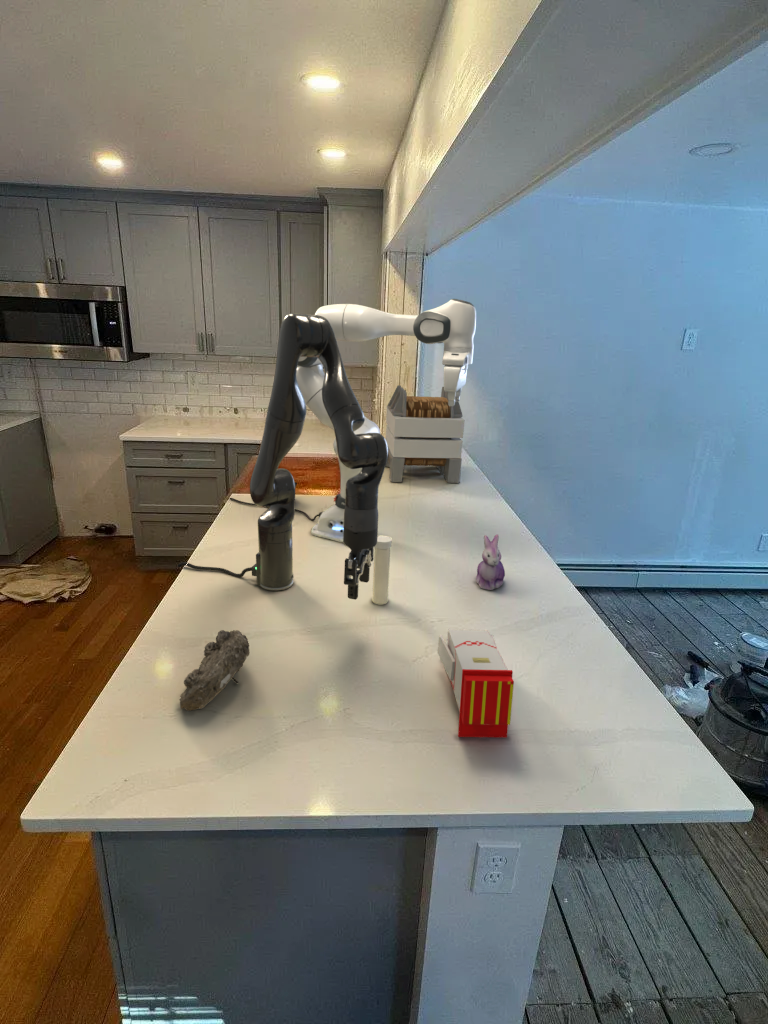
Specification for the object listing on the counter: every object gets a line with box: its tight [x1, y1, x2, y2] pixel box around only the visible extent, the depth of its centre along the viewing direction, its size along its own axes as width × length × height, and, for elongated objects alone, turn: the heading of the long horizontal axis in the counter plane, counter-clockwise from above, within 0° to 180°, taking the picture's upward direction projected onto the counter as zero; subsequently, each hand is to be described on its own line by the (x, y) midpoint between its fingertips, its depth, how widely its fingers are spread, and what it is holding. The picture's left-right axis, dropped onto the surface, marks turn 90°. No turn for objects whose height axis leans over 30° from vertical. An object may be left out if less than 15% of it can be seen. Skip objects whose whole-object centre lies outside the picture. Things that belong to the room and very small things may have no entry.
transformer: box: [384, 384, 465, 484], centre depth 268 cm, size 34×33×41 cm
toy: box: [437, 628, 515, 738], centre depth 117 cm, size 12×13×30 cm
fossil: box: [179, 629, 250, 712], centre depth 117 cm, size 22×10×15 cm
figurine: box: [475, 534, 506, 591], centre depth 164 cm, size 9×10×15 cm
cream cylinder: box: [371, 547, 391, 606], centre depth 151 cm, size 4×4×18 cm
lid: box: [374, 535, 393, 549], centre depth 148 cm, size 5×5×2 cm
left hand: (358, 589), depth 130 cm, fingers open, 8 cm apart
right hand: (454, 403), depth 174 cm, fingers open, 8 cm apart
